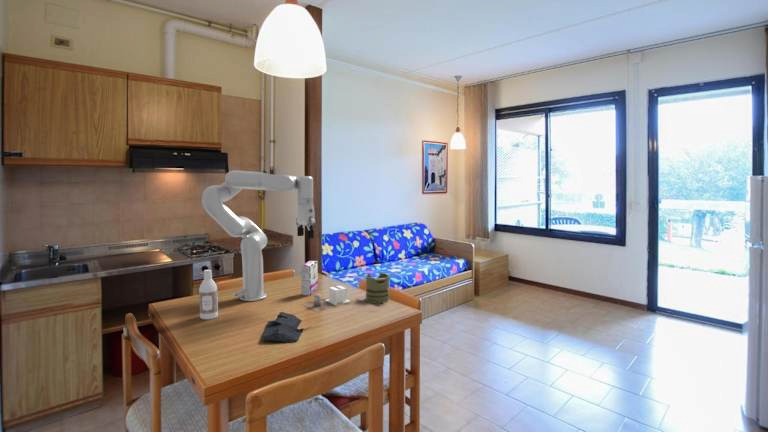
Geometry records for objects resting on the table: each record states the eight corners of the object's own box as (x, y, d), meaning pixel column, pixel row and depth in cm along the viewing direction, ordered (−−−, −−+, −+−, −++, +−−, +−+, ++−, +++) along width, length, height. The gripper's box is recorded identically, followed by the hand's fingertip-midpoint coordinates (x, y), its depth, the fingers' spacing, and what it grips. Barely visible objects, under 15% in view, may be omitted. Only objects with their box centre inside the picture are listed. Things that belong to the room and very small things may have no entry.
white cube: (346, 300, 182) (346, 287, 181) (335, 303, 178) (335, 290, 177) (339, 297, 186) (339, 285, 186) (328, 300, 183) (328, 287, 182)
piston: (363, 273, 193) (385, 272, 196) (363, 297, 194) (384, 295, 197) (369, 279, 182) (392, 277, 185) (369, 304, 183) (392, 302, 186)
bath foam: (198, 320, 159) (196, 272, 157) (202, 314, 166) (200, 268, 164) (216, 319, 161) (214, 271, 159) (219, 313, 168) (218, 268, 166)
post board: (315, 315, 167) (315, 300, 166) (300, 307, 177) (299, 293, 177) (357, 305, 181) (357, 291, 180) (340, 298, 192) (340, 285, 191)
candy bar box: (309, 291, 202) (309, 260, 201) (318, 292, 201) (318, 260, 200) (301, 297, 191) (300, 265, 190) (310, 298, 190) (310, 265, 189)
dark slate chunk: (254, 344, 138) (254, 331, 137) (269, 322, 160) (269, 310, 159) (298, 344, 139) (298, 331, 138) (307, 322, 160) (307, 310, 160)
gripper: (321, 202, 183) (321, 238, 185) (303, 200, 196) (303, 234, 198) (307, 203, 178) (307, 240, 180) (289, 201, 191) (290, 235, 193)
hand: (305, 237), depth 189 cm, fingers open, 9 cm apart
